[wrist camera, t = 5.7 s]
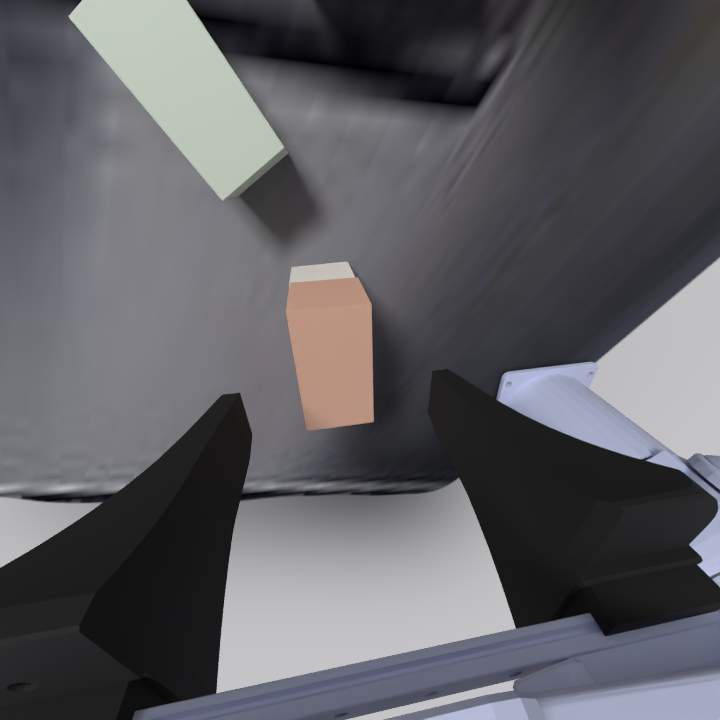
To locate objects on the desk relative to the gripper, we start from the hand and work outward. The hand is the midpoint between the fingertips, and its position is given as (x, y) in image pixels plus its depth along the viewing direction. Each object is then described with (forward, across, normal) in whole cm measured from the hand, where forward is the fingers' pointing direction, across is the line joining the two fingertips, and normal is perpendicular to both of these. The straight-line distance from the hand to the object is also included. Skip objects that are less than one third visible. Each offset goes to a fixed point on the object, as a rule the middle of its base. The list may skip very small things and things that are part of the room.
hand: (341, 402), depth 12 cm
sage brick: (+9, +4, -10) cm, 14 cm away
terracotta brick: (+5, 0, 0) cm, 5 cm away
